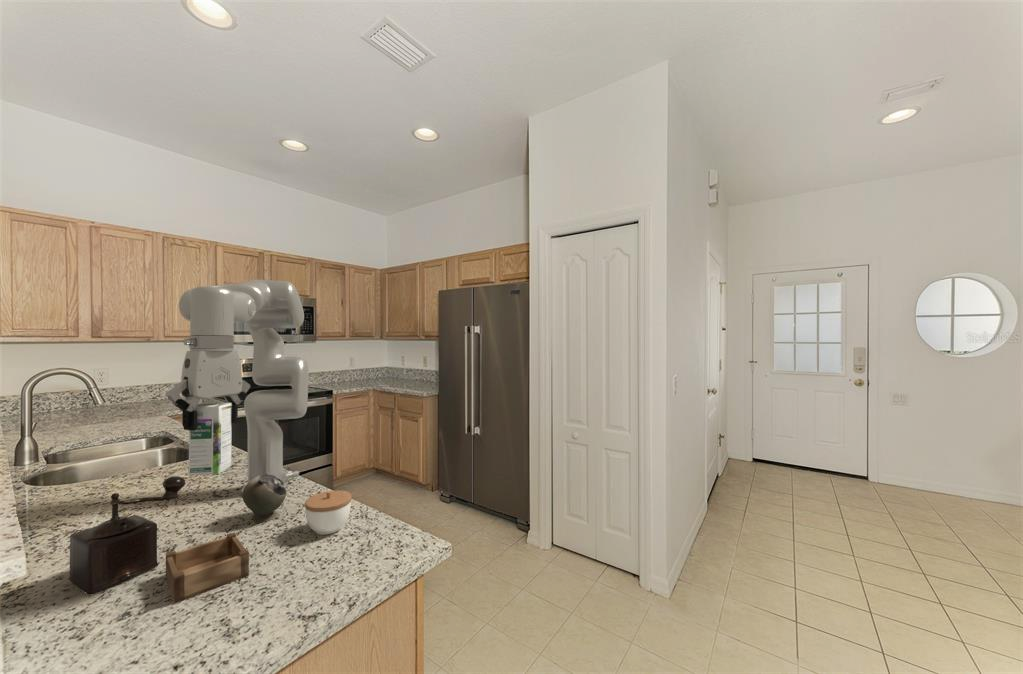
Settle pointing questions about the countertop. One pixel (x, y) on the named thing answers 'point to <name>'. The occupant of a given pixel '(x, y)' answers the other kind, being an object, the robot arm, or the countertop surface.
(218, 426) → the syrup box
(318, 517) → the lidded jar
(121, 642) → the countertop surface
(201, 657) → the countertop surface
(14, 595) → the countertop surface
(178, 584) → the crate
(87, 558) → the manual coffee grinder
